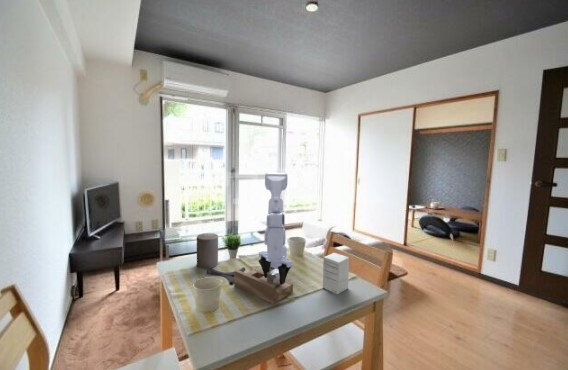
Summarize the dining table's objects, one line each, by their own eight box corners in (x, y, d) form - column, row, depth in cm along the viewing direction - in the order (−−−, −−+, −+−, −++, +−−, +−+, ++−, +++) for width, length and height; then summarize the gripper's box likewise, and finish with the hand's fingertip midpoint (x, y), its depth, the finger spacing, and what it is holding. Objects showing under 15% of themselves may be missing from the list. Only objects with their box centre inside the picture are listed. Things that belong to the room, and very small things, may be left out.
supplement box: (332, 281, 108) (334, 252, 107) (348, 288, 103) (350, 257, 102) (321, 287, 103) (323, 256, 102) (337, 295, 98) (339, 262, 97)
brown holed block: (255, 275, 112) (255, 262, 112) (292, 291, 100) (293, 276, 99) (234, 285, 103) (234, 270, 103) (273, 304, 91) (273, 287, 90)
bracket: (214, 267, 121) (214, 261, 121) (245, 270, 119) (245, 264, 118) (198, 282, 107) (198, 275, 107) (233, 286, 104) (233, 279, 104)
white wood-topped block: (277, 287, 103) (277, 267, 102) (283, 289, 101) (283, 269, 100) (266, 293, 98) (267, 272, 97) (272, 296, 96) (273, 275, 95)
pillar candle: (192, 267, 119) (192, 235, 118) (203, 259, 129) (203, 229, 127) (212, 270, 117) (212, 237, 116) (221, 261, 127) (222, 231, 125)
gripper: (253, 243, 99) (253, 277, 100) (283, 252, 90) (282, 290, 91) (266, 238, 104) (265, 271, 106) (296, 247, 95) (294, 283, 97)
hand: (274, 280), depth 99 cm, fingers open, 7 cm apart
